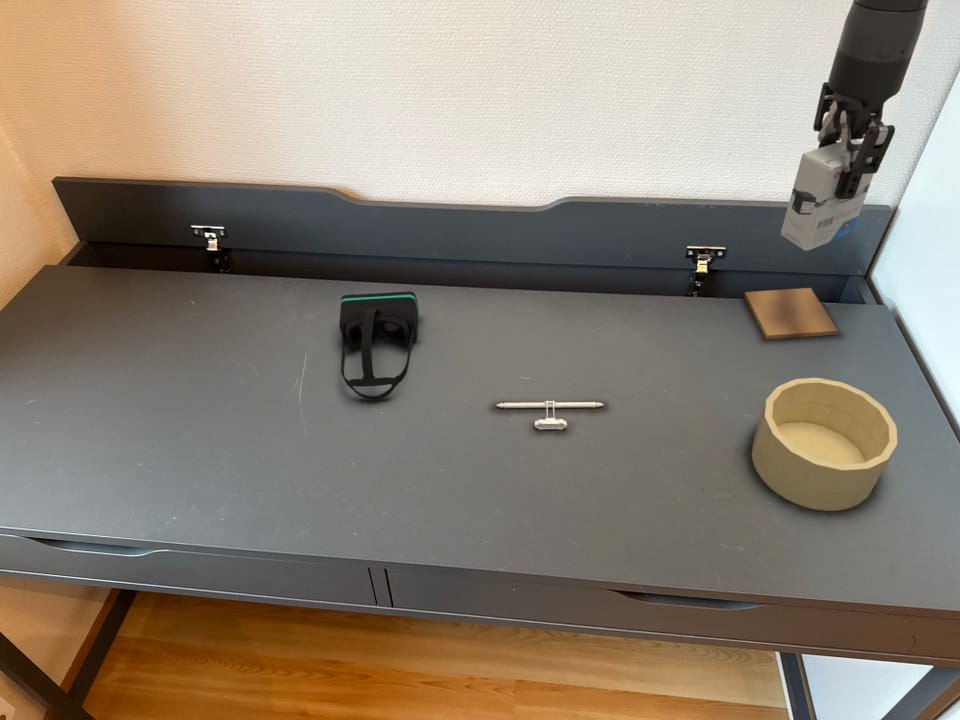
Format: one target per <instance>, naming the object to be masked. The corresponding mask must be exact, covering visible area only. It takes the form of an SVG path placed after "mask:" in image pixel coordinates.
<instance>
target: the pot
mask: <svg viewBox="0 0 960 720" xmlns="http://www.w3.org/2000/svg"><path fill="white" fill-rule="evenodd" d="M761 411H762V412H761V415H760V417H759V421H758V424H757V427H756V430H755V433H754V436H753V440H752V447H751V459H752V463H753V466H754V468H755V471H756V472H757V474H758V476H759V478H760V479H761V480H762V481H763V482H764V484H766V485H767V487H768V488H769V489H771V490H772V491H773V492H775V493H776V494H777V495H778V496H779V497H782V498H784V499H785V500H787V501H789V502H791V503H793V504H796V505H798V506H801V507H803V508H807V509H811V510H816V511H822V512H823V511H824V512H836V511H837V512H838V511H844V510H848V509H852V508H854V507H856V506H858V505H859V504H862V503H863V502H864V501H865V500H866V499H868V498H869V496H870V494H871V493H872V491H873V489H874V488H875V486H876V485H877V483H878V481H879V479H880V477H881V476H882V474H883V472H884V471H885V468H886V466H887V465H888V463H889V461H890V459H891V458H892V455H893V453H894V452H895V450H896V448H897V447H898V444H899V443H898V431H897V425H896V423H895V422H894V420H893V418H892V416H891V415H890V414H889V412H888V410H887V409H886V408H885V407H884V406H883V405H882V404H881V403H879V402H878V401H877V400H875V399H874V398H873V397H872V396H870V395H869V394H868V393H867V392H864V391H863V390H860V389H858V388H856V387H854V386H852V385H850V384H847V383H845V382H842V381H837V380H831V379H827V378H822V377H808V378H807V377H806V378H794V379H793V380H790V381H787V382H785V383H783V384H780V385H779V386H777V387H776V388H775V389H774V390H773V391H772V392H771V393H770V395H769V396H768V397H767V398H766V399H765V403H764V406H763V409H762V410H761Z"/></svg>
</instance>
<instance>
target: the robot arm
mask: <svg viewBox="0 0 960 720" xmlns="http://www.w3.org/2000/svg"><path fill="white" fill-rule="evenodd" d="M929 1H930V0H852V3H851V6H850V9H849V10H848V13H847V15H846V18H845V21H844V24H843V27H842V30H841V33H840V38H839V41H838V44H837V48H836V51H835V56H834V57H833V58H834V59H833V63H832V66H831V68H830V73H829V76H828V80H827V81H824V82H823V84H822V85H821V90H820V94H819V99H818V103H817V108H816V112H815V115H814V121H813V127H812V128H813V131H814V132H818V134H817V142H818V143H819V144H818V147H817V149H819V148H822V147H825V146H828V145H831V144H834V143H837V142H841V150H842V151H843V152H844V169H842V172H841V175H840V178H839V182H838V185H837V188H836V191H835V196H836V198H837V199H851V198H853V197H854V196H855V194H856V192H857V189H858V186H859V183H860V180H861V178H862V175H863V174H872V173H874V174H877V173H878V171H879V169H880V167H881V165H882V163H883V160H884V158H885V156H886V153H887V151H888V150H889V147H890V145H891V142H892V141H893V138H894V135H895V134H896V133H895V132H896V127H895V125H894V124H887V125H885V123H884V122H883V121H882V118H883V114H884V113H883V112H884V105H885V103H886V102H887V101H888V100H889V99H891V98H893V97H895V96H896V95H898V94H899V92H900V91H901V88H902V86H903V83H904V80H905V77H906V74H907V72H908V69H909V66H910V63H911V60H912V57H913V55H914V52H915V49H916V46H917V43H918V41H919V38H920V36H921V32H922V29H923V25H924V21H925V15H926V12H927V9H928V4H929ZM826 113H827V114H826ZM825 114H826V116H825ZM851 140H862V141H861V142H862V144H852V143H851ZM857 150H859V152H858V154H857V156H856V159H855V161H853V156H854V152H855V151H857ZM870 157H873V158H872V160H871V162H870Z"/></svg>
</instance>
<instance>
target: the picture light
mask: <svg viewBox="0 0 960 720" xmlns="http://www.w3.org/2000/svg"><path fill="white" fill-rule="evenodd" d="M602 406H604V403H601V402H598V401H597V402H596V401H592V402H591V401H590V402H589V401H588V402H587V401H585V402H579V401H577V402H575V401H574V402H573V401H571V402H569V401H567V402H556V401H555V400H554V399H553V400H547V399H546V400H545V401H544V402H501V403H497V404H496V405H495V407H498V408H502V409H503V408H504V409H519V408H520V409H522V408H523V409H529V408H530V409H531V408H533V409H534V408H536V409H539V408H540V409H541V408H546V417H545V418H544V419H542V418H540V419H538V420H535V421H534V428H535V429H538V430H559V431H560V430H563V429H565V428H566V429H567V427H568V422H567V421H566V420H564V419H562V418H559V419H557V418H556V417H555V408H592V409H593V408H594V409H595V408H599V407H602ZM548 408H552V414H553V416H552V417H548V416H549V411H548V410H549V409H548Z"/></svg>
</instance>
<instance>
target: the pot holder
mask: <svg viewBox="0 0 960 720" xmlns="http://www.w3.org/2000/svg"><path fill="white" fill-rule="evenodd" d="M743 297H744V300H745V301H746V303H747V305H748V307H749V309H750V311H751V314H752V315H753V317H754V319H755V321H756V323H757V325H758V326H759V329H760V330H761V333H762V334H763V337H764V338H765V340H777V339H778V340H780V339H794V338H809V337H822V336H823V337H825V336H837V334H838V331H839V330H838V328H837V327H836V325H835V324H834V322H833V321H832V319H831V317H830V316H829V314H828V312H827V311H826V310H825V308H824V306H823V304H822V303H821V301H820V300H819V298H818V297H817V295H816V294H815V292H814V290H813V289H812V288H811V287H802V288H788V289H787V288H786V289H772V290H757V291H756V290H755V291H745V292H744V294H743Z"/></svg>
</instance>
